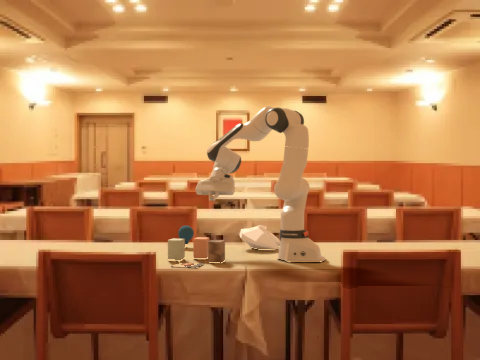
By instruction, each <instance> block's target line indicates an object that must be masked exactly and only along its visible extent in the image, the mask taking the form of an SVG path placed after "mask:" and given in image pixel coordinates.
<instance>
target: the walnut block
mask: <svg viewBox="0 0 480 360" xmlns="http://www.w3.org/2000/svg"><path fill="white" fill-rule="evenodd" d="M207 260H208V262H220V263H221V262H223V261H224V260H225V261H226V240H225V239H212V240H211V239H210V241H209V242H208V259H207Z"/></svg>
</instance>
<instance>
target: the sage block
mask: <svg viewBox="0 0 480 360" xmlns="http://www.w3.org/2000/svg"><path fill="white" fill-rule="evenodd" d="M185 252H186V248H185V239H180V238H175V237H173V238H171V239H167V260H168V259H175V260H181V259H183V258H184V257H185V256H186V253H185ZM185 258H186V257H185Z"/></svg>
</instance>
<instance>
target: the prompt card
mask: <svg viewBox="0 0 480 360" xmlns="http://www.w3.org/2000/svg"><path fill="white" fill-rule="evenodd" d="M194 263H195V262H186V263H182V264H181V265H184V266H185V267H186V266H187V267H198V266H200V265H202V264H205V263H203V262H198V263H199V264H197V265H194ZM191 265H194V266H191ZM202 266H203V265H202ZM200 267H201V266H200Z"/></svg>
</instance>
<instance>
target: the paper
mask: <svg viewBox="0 0 480 360" xmlns="http://www.w3.org/2000/svg"><path fill="white" fill-rule="evenodd" d="M267 229H268V226H266V225H263V224H257V225H256V226H253V227H248V228H240V232H239V235H238V236H239V238H240V239H241V240H243V242H245V243H246V244H247V245H248V246H249V247H250V248H251V247H253V248H257V249H280V248H279V247H278V246H280V238H278V237H277V236H276V235H275V234H273V233H272V232H271V231H270V230H267Z"/></svg>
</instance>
